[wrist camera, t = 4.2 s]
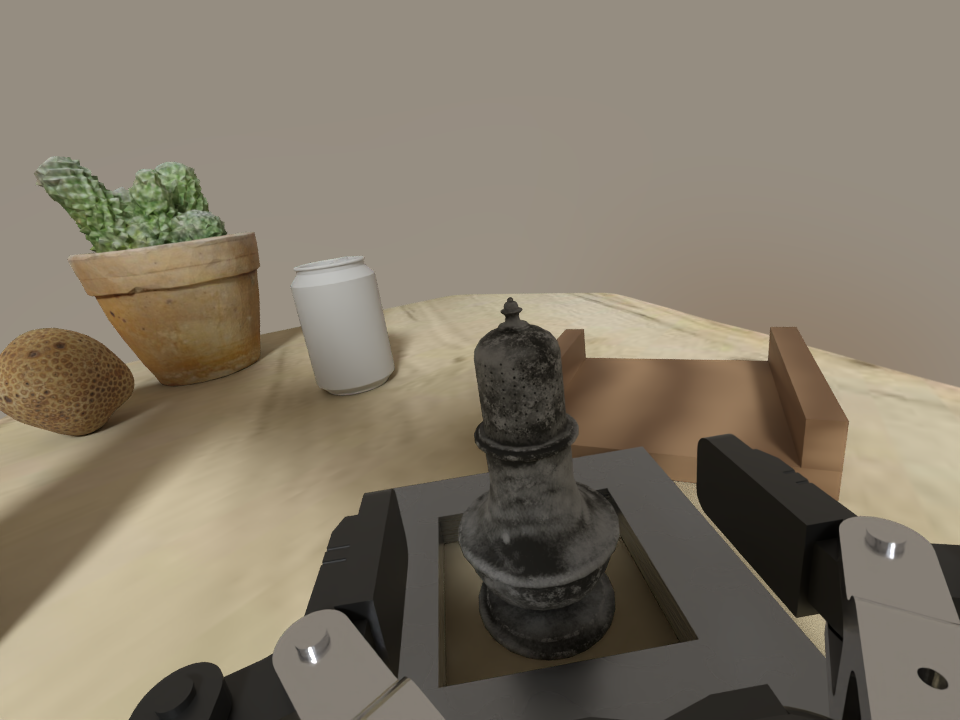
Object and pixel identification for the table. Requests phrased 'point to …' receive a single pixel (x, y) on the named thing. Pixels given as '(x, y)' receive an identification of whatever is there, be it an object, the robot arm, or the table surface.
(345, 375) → the can
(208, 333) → the potted plant
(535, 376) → the salt shaker
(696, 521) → the socket frame
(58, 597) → the table surface
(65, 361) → the natural sponge
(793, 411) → the brown piece
